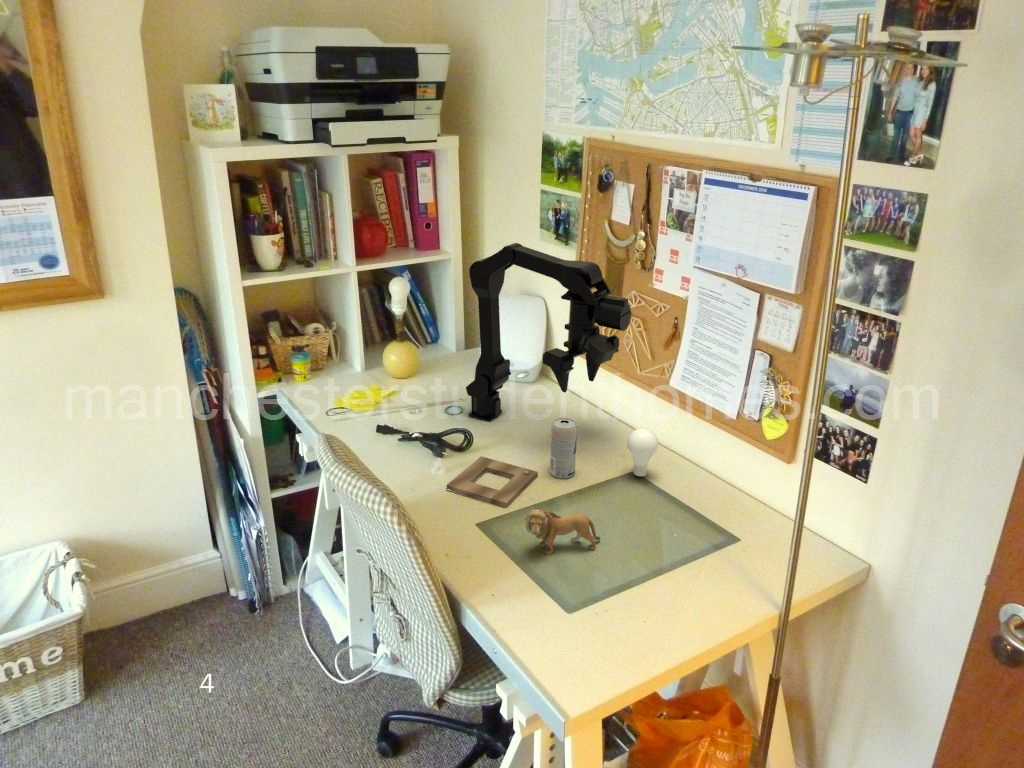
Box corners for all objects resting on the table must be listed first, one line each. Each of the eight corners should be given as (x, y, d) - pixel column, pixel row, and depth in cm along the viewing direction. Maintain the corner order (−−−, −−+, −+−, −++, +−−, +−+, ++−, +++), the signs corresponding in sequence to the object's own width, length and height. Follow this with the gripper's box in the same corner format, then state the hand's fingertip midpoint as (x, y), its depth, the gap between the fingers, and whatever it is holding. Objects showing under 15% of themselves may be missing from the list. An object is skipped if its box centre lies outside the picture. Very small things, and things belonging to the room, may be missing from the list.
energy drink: (575, 467, 165) (577, 418, 160) (574, 480, 160) (577, 429, 155) (550, 466, 165) (552, 416, 161) (549, 478, 161) (551, 428, 156)
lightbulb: (654, 484, 159) (658, 438, 154) (623, 481, 160) (627, 435, 155) (655, 470, 164) (659, 424, 160) (625, 466, 165) (629, 421, 161)
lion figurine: (529, 563, 134) (530, 520, 130) (520, 546, 139) (520, 504, 135) (605, 548, 138) (608, 506, 134) (594, 532, 143) (596, 491, 139)
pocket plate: (446, 490, 156) (446, 483, 155) (480, 460, 167) (480, 454, 167) (506, 508, 150) (506, 501, 149) (537, 476, 161) (537, 470, 161)
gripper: (581, 341, 153) (577, 410, 160) (638, 321, 165) (631, 386, 172) (542, 326, 161) (539, 393, 167) (598, 308, 173) (594, 371, 179)
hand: (577, 386), depth 171 cm, fingers open, 9 cm apart
